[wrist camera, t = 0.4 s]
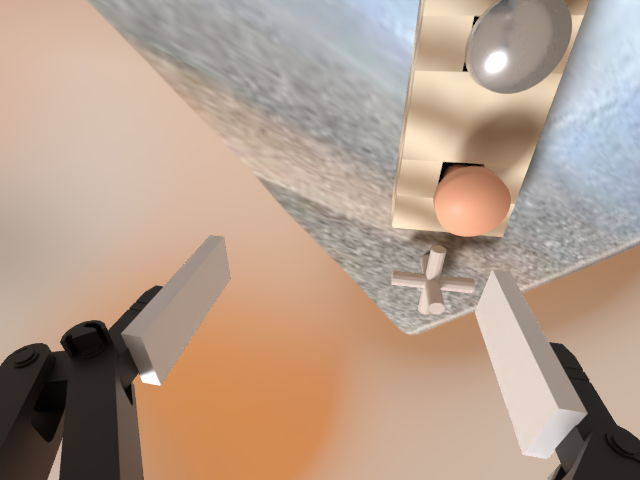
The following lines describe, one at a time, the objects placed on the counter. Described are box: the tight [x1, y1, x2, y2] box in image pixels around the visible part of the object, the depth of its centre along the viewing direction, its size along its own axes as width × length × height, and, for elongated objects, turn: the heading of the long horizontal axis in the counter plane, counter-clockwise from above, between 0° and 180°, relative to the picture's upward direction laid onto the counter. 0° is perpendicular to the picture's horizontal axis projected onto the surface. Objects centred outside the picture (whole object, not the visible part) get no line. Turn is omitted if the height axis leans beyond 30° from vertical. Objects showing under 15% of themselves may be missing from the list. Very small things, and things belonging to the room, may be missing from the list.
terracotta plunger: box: [433, 163, 511, 237], centre depth 31 cm, size 6×6×8 cm
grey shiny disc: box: [465, 0, 572, 94], centre depth 24 cm, size 6×6×8 cm
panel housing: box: [391, 0, 589, 237], centre depth 32 cm, size 24×12×6 cm, turn 0°
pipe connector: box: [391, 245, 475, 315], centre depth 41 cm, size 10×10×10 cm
